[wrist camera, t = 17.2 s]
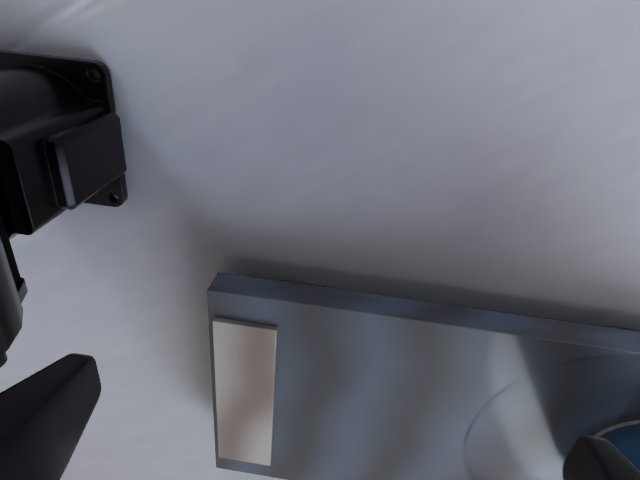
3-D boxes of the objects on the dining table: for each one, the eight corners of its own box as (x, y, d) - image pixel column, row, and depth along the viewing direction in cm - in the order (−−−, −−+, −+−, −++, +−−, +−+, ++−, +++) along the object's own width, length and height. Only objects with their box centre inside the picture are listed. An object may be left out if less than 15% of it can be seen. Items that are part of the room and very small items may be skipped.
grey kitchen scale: (230, 425, 29) (214, 472, 26) (227, 255, 23) (204, 293, 20) (646, 493, 28) (677, 552, 25) (770, 330, 21) (830, 384, 18)
